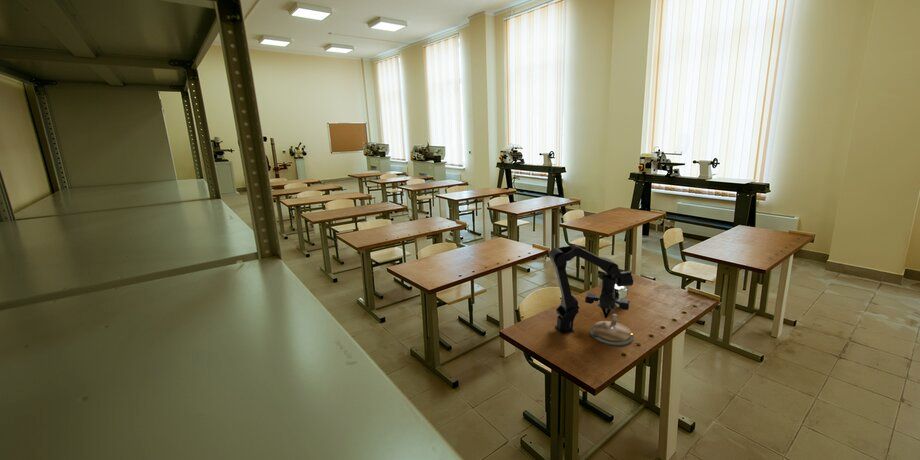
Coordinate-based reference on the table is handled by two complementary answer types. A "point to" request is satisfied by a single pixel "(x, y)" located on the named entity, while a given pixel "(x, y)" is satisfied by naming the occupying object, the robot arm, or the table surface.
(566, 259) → the robot arm
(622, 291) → the pneumatic valve
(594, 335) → the dial housing
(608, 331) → the dial
